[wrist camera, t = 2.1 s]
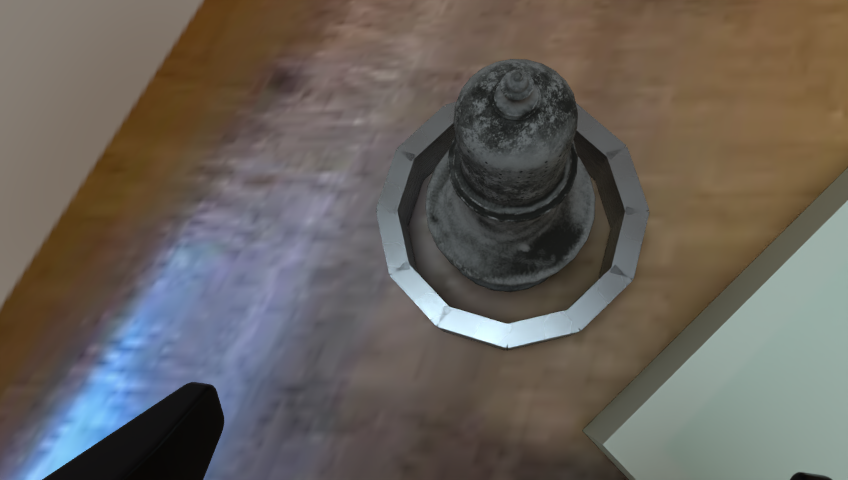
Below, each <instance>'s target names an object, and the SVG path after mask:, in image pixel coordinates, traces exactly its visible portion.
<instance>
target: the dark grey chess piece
mask: <svg viewBox="0 0 848 480" xmlns="http://www.w3.org/2000/svg"><path fill="white" fill-rule="evenodd" d="M453 122H454V128H455V136H454V138H453V141H452V143H451V146H450V148H449V150H448V151H447V152H446V154H445V155H444V156H443V158H442V159H441V160H440V162H439V163H438V164H437V166H436V167H435V169H434V172H433V174H432V177H431V179H430V182H429V184H428V188H427V196H426V205H425V209H426V215H427V221H428V227H429V230H430V232H431V234H432V236H433V238H434V241H435V243H436V245H437V247H438V248H439V250H440V251H441V252H442V253H443V254H444V256H445V257H446V258H447V259H448V260H449V262H450V263H451V264H452V265H454V266H455V267H457V268H458V269H459V270H460V271H461V273H462V274H463V275H464V276H466V277H467V278H469V279H470V280H472V281H473V282H474V283H476V284H478V285H480V286H483V287H486V288H489V289H491V290H498V291H508V292H511V291H517V290H524V289H528V288H530V287H533V286H535V285H537V284H539V283H541V282H543V281H545V280H546V279H547V278H548V277H550V276H551V275H553V274H555V273H557V272H558V271H560V270H561V269H562V268H563V267H564V266H566V265H567V264H568V263H569V262H570V261H572V260H573V259H574V258H575V256H576V255H577V254H578V252H579V251H580V249H581V248H582V246H583V245H584V244H585V242H586V241H587V239H588V236H589V233H590V230H591V227H592V224H593V221H594V213H595V195H594V190H593V186H592V182H591V178H590V175H589V174H588V172H587V170H586V168H585V167H584V165H583V163H582V161H581V159H580V158H579V157H578V156H577V152H576V148H575V144H574V141H573V139H574V136H575V133H576V130H577V123H578V110H577V105H576V101H575V98H574V94H573V92H572V90H571V89H570V87H569V85H568V84H567V82H566V81H565V80H564V79H563V78H562V77H561V76H560V75H559V74H558V73H557V72H556V71H554V70H553V69H551V68H549V67H547V66H545V65H544V64H541V63H538V62H534V61H530V60H522V59H510V60H505V61H499V62H495V63H493V64H491V65H489V66H487V67H484V68H482V69H481V70H480V71H478V72H477V73H476V74H474V75H473V76H472V77H471V78H470V79H469V80H468V82H467V83H466V84H465V85H464V87H463V88H462V90H461V92H460V95H459V97H458V99H457V102H456V105H455V110H454V120H453Z"/></svg>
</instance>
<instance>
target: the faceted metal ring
mask: <svg viewBox="0 0 848 480" xmlns="http://www.w3.org/2000/svg"><path fill="white" fill-rule="evenodd" d="M455 105H456V102H454V103H450V104H447V105H446V107H445V106H443V107H442V108H441V109H440V110H439V111H438V112H436V113H435V114H434V115H433V116H432V117H431V118H430V119H429V120H428V121H427V122H425V123H424V124H423V125H422V126H421V127H420V128H419V129H418V130H417V131H416V132H414V133H413V134H412V135H411V136H410V137H409V138H408V139H407V140H406V141H405V142H404V143H402V144H401V145H400V146H399V147H398V148H397V149H398V150H396V152H395V155H394V158H393V161H392V164H391V167H390V170H389V173H388V176H387V178H386V181H385V184H384V187H383V190H382V193H381V196H380V199H379V202H378V205H377V208H376V210H377V211H376V213H377V218H378V223H379V228H380V233H381V237H382V242H383V247H384V252H385V257H386V261H387V266H388V271H389V274H390V276H391V277H392V278H393V280H394V281H395V282H396V283H397V284H398V285H399V286H400V287H401V288H402V289H403V290H404V291H405V293H406V294H407V295H408V296H409V297H410V298H411V299H412V300H413V301H414V302H415V303H416V305H417V306H418V307H419V308H420V309H421V310H422V311H423V312H424V313H425V314H426V315H427V316H428V318H429V319H430V320H431V321H432V322H433V323H434V324H435V325H436V326H437V327H438V328H440V329H441V330H442V331H444V332H447V333H450V334H453V335H457V336H460V337H463V338H466V339H470V340H473V341H476V342H479V343H483V344H486V345H489V346H492V347H495V348H499V349H502V350H505V349H507V350H511V349H516V348H520V347H524V346H528V345H533V344H537V343H541V342H546V341H550V340H554V339H559V338H563V337H567V336H571V335H573V334H575V333H577V332H579V331H581V330H582V329H583V328H584V327H585V326H586V325H587V324H588V323H589V322H590V321H591V320H592V319H593V318H594V317H596V316H597V315H598V314H599V313H600V312H601V311H602V310H603V309H604V308H605V307H606V306H607V305H608V304H609V303H610V302H611V301H612V300H613V299H614V298H615V297H616V296H617V295H618V294H619V293H620V292H621V291H622V290H623V289H624V288H625V287H626V286H627V285H628V284H629V283H630V282H631V281H633V280H632V279H634V275H635V270H636V266H637V262H638V258H639V253H640V249H641V245H642V241H643V236H644V232H645V228H646V224H647V220H648V215H649V212H648V211H649V208H648V205H647V202H646V200H645V197H644V194H643V191H642V188H641V185H640V182H639V179H638V177H637V174H636V171H635V168H634V165H633V162H632V159H631V156H630V154H629V151H628V148H627V147H626V145H625V144H624V143H623V142H621V141H620V140H619V139H618V138H617V137H616V136H614V135H613V134H612V133H611V132H610V131H609V130H607V129H606V128H605V127H604V126H603V125H601V124H600V123H599V122H598V121H597V120H596V119H594V118H593V117H592V116H591V115H590V114H588V113H587V112H586V111H585V110H584V109H583V108H581V107H580V106H579V105H578V104H577V103H576V105H577V110H578V123H577V130H576V133H575V136H574V139H573V141H574V144H575V148H576V152H577V156H578V157H579V158H580V159H581V161H582V163H583V165H584V167H585V168H586V170H587V172H588V174H589V175H590V176H591V177H592V178H593V179H595V181H596V184H597V187H598V190H599V193H600V197H601V200H602V203H603V206H604V209H605V212H606V215H607V218H608V221H609V224H610V227H611V230H610V235H609V239H608V243H607V247H606V251H605V255H604V259H603V263H602V267H601V271H600V275H599V279H598V280H597V281H596V282H595V283H594V284H593V285H592V286H591V287H590V288H589V289H588V290H587V291H586V292H585V293H584V294H583V295H582V296H581V297H580V298H578V299H577V300H576V301H575V302H574V303H573V304H572V305H571V306H570V307H569V308H568V309H567V310H565V311H561V312H556V313H552V314H548V315H544V316H539V317H535V318H531V319H527V320H522V321H518V322H514V323H510V324H505V323H502V322H499V321H495V320H492V319H489V318H485V317H482V316H479V315H475V314H472V313H469V312H465V311H462V310H459V309H455V308H452V307H449V306H448V305H447V304H446V303H445V302H444V301H443V300H442V299H441V298H440V297H439V296H438V294H437V293H436V292H435V291H434V290H433V289H432V288H431V287H430V286H429V285H428V284H427V283H426V282H425V281H424V280H423V278H422V277H421V276H420V275H419V274H418V271H417V267H416V262H415V258H414V253H413V249H412V244H411V240H410V235H409V231H408V225H409V221H410V218H411V215H412V212H413V209H414V206H415V203H416V200H417V197H418V194H419V191H420V188H421V184H422V181H423V180H424V179H425V178H426V177H427V176H428V175H429V174H431V173H432V172H433V171H434V169H435V167H436V166H437V164H438V163H439V162H440V160H441V159H442V158H443V156H444V155H445V154H446V152H447V151H448V150H449V148H450V146H451V143H452V141H453V138H454V136H455V128H454V122H453V120H454V110H455Z"/></svg>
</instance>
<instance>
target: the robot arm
mask: <svg viewBox="0 0 848 480" xmlns="http://www.w3.org/2000/svg"><path fill="white" fill-rule="evenodd" d="M223 427H224V415H223V411H222V408H221V404H220V401H219V397H218V394H217V391H216V388H215V387H214V386H213V385H210V384H204V383H197V382H191V383H188V384H186V385H184V386H182V387H181V388H179V389H178V390H176V391H175V392H173V393H172V394H170V395H169V396H167V397H166V398H164V399H163V400H161V401H160V402H158V403H157V404H155V405H154V406H152V407H151V408H149V409H148V410H146V411H145V412H143V413H142V414H140V415H139V416H137V417H136V418H134V419H133V420H131V421H130V422H128V423H127V424H125V425H124V426H122V427H121V428H119V429H118V430H116V431H115V432H113V433H112V434H110V435H109V436H107V437H106V438H104V439H103V440H101V441H100V442H98V443H97V444H95V445H94V446H92V447H91V448H89V449H88V450H86V451H85V452H83V453H81V454H80V455H78V456H77V457H75V458H74V459H72V460H71V461H69V462H68V463H66V464H65V465H63V466H62V467H60V468H59V469H57V470H56V471H54V472H53V473H51V474H50V475H48V476H47V477H45V478H44V479H42V480H203V479H204V476H205V474H206V471H207V469H208V466H209V464H210V461H211V458H212V456H213V453H214V451H215V448H216V446H217V443H218V441H219V438H220V436H221V433H222V430H223ZM790 480H832V479H831V478H829V477H827V476H824V475H819V474H812V473H805V472H797V473H795V474H793V476H792V477H791V479H790Z"/></svg>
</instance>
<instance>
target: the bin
mask: <svg viewBox="0 0 848 480" xmlns="http://www.w3.org/2000/svg"><path fill="white" fill-rule="evenodd" d="M582 431H583V432H584V433H585V434H586V435H587V436H588V437H589V438H590V439H591V440H592V441H593V442H594V443H595V444H596V446H597V447H598V448H599V449H600V450H601V451H602V452H603V453H604V454H605V455H606V456H607V457H608V458H609V459H610V460H611V461H612V462H613V463H614V464H615V466H616V467H617V468H618V469H619V470H620V471H621V472H622V473H623V474H624V475H625V476H626V477H627V478H628V479H629V480H790V479H791V477H792V476H793V474H795V473H797V472H805V473H812V474H819V475H824V476H827V477H829V478H831V479H832V480H848V168H847V169H846V170H845V171H844V172H843V173H842V174H841V175H840V176H839V177H838V178H837V179H836V180H835V181H834V182H833V183H832V184H831V185H830V186H829V187H828V188H827V189H826V190H825V191H824V192H823V193H822V194H820V195H819V196H818V197H817V198H816V199H815V200H814V201H813V202H812V203H811V204H810V205H809V206H808V207H807V208H806V209H805V210H804V211H803V212H802V213H801V214H800V215H799V216H798V217H797V218H796V219H795V220H794V221H793V222H792V223H791V224H790V225H789V226H788V227H787V228H786V229H785V230H784V231H783V232H782V233H781V234H780V235H779V236H778V237H777V238H776V239H775V240H774V241H773V242H772V243H771V244H770V245H769V246H768V247H767V248H766V249H765V250H764V251H763V252H762V253H761V254H760V255H759V256H758V257H757V258H756V259H755V260H754V261H753V262H752V263H751V264H750V265H749V266H748V267H747V268H746V269H745V270H744V271H743V272H742V273H741V274H740V275H739V276H738V277H737V278H736V279H735V280H734V281H733V282H732V283H731V284H730V285H729V286H728V287H727V288H726V289H725V290H724V291H723V292H722V293H721V294H720V295H719V296H718V297H717V298H716V299H714V300H713V301H712V302H711V303H710V304H709V305H708V306H707V307H706V308H705V309H704V310H703V311H702V312H701V313H700V314H699V315H698V316H697V317H696V318H695V319H694V320H693V321H692V322H691V323H690V324H689V325H688V326H687V327H686V328H685V329H684V330H683V331H682V332H681V333H680V334H679V335H678V336H677V337H676V338H675V339H674V340H673V341H672V342H671V343H670V344H669V345H668V346H667V347H666V348H665V349H664V350H663V351H662V352H661V353H660V354H659V355H658V356H657V357H656V358H655V359H654V360H653V361H652V362H651V363H650V364H649V365H648V366H647V367H646V368H645V369H644V370H643V371H642V372H641V373H640V374H639V375H638V376H637V377H636V378H635V379H634V380H633V381H632V382H631V383H630V384H629V385H628V386H627V387H626V388H625V389H624V390H623V391H622V392H621V393H620V394H619V395H618V396H617V397H616V398H615V399H614V400H613V401H612V402H611V403H610V404H609V405H607V406H606V407H605V408H604V409H603V410H602V411H601V412H600V413H599V414H598V415H597V416H596V417H595V418H594V419H593V420H592V421H591V422H590V423H589V424H588V425H587V426H586V427H585V428H584V429H583V430H582Z"/></svg>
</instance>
